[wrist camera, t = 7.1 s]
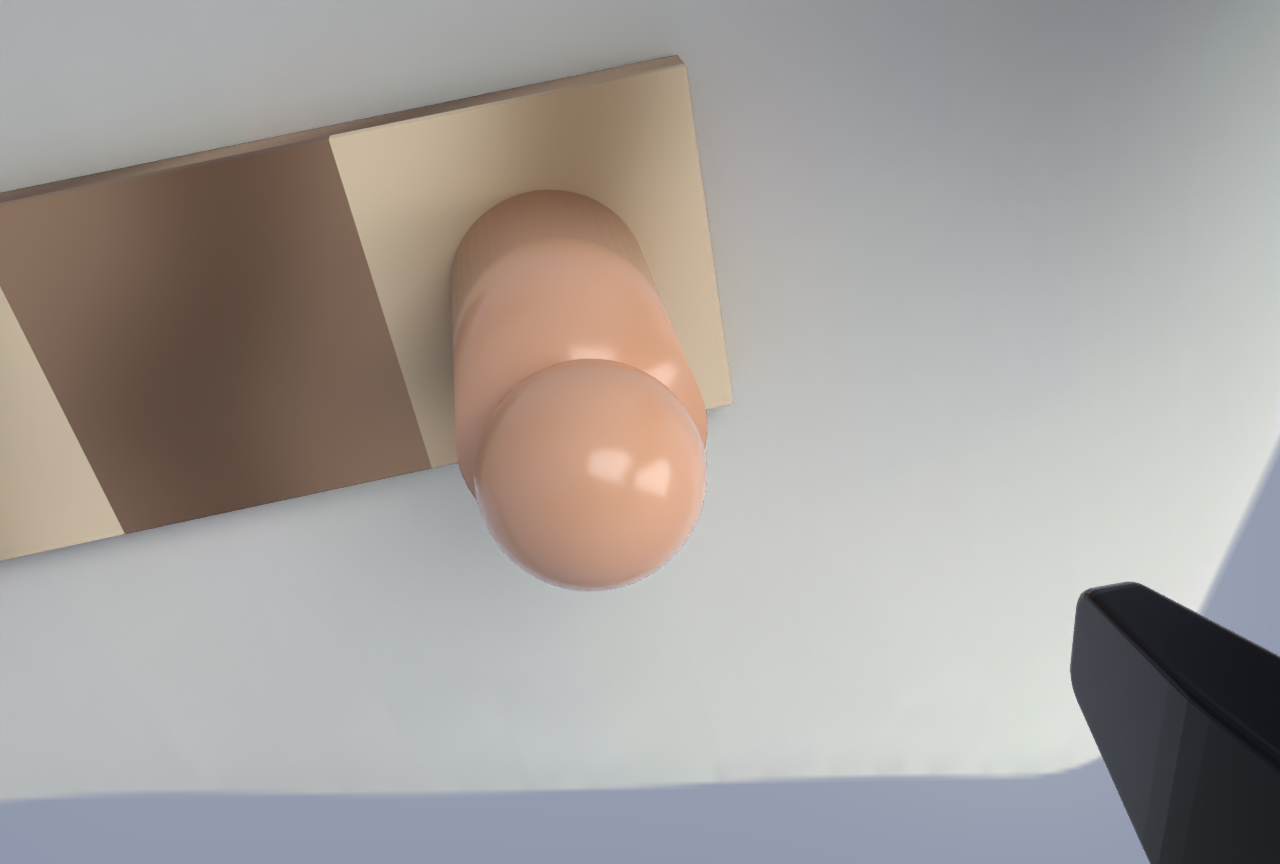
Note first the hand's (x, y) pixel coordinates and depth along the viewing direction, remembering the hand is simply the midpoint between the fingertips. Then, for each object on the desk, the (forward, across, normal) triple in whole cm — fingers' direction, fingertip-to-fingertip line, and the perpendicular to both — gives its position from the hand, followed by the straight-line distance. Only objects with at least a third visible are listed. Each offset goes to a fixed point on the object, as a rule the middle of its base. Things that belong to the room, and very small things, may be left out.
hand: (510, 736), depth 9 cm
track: (+12, +8, +1) cm, 14 cm away
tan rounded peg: (+11, -1, +1) cm, 11 cm away
